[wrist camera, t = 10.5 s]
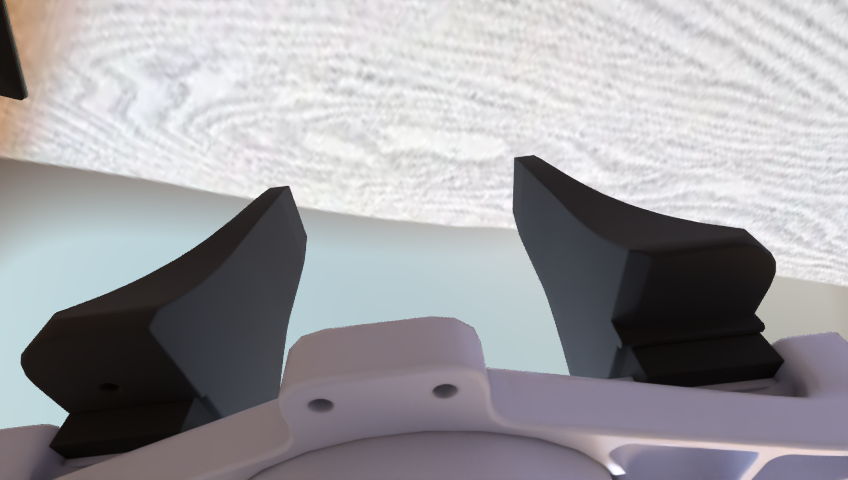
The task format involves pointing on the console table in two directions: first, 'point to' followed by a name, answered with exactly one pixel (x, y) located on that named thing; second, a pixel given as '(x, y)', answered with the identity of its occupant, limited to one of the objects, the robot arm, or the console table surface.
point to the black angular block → (10, 60)
